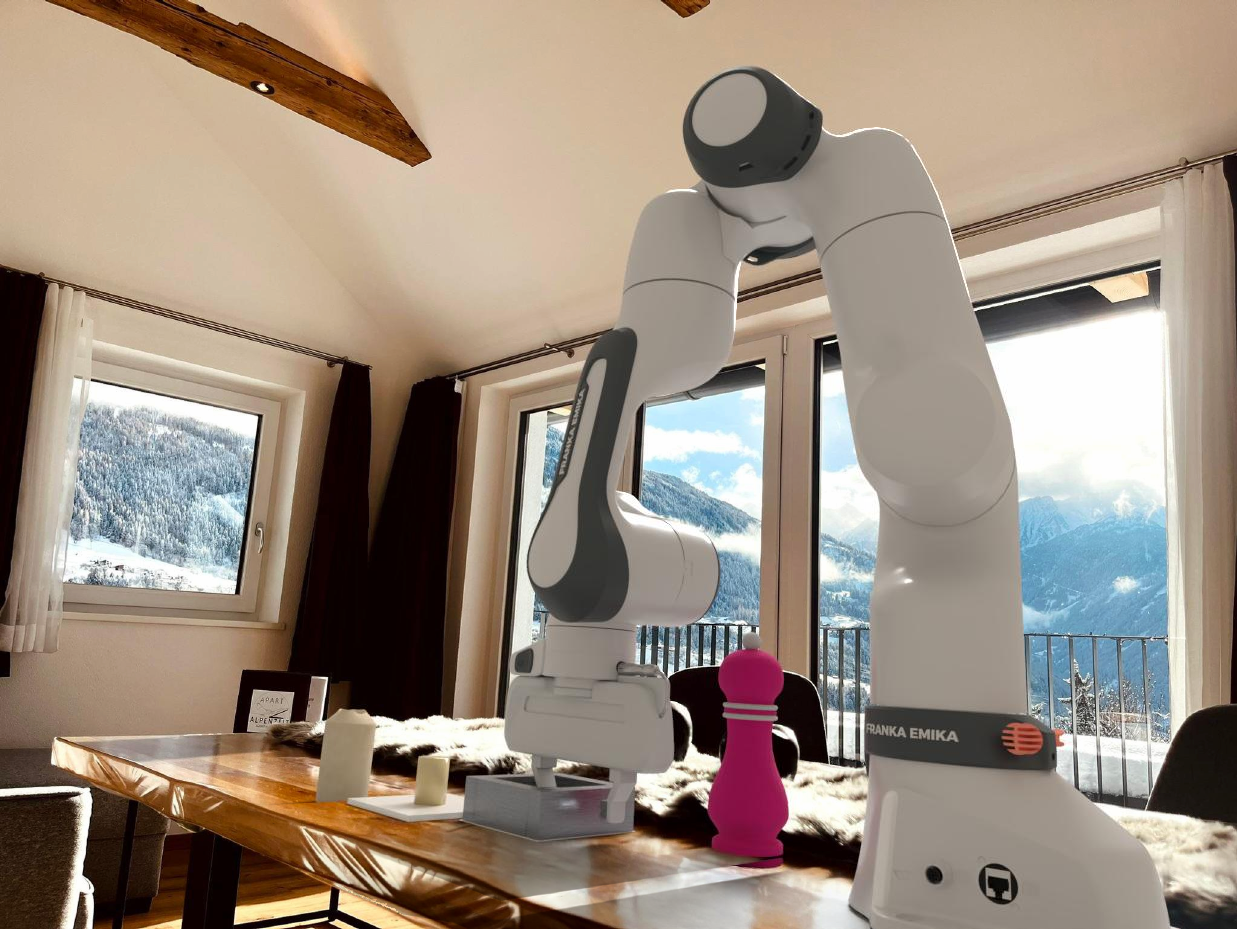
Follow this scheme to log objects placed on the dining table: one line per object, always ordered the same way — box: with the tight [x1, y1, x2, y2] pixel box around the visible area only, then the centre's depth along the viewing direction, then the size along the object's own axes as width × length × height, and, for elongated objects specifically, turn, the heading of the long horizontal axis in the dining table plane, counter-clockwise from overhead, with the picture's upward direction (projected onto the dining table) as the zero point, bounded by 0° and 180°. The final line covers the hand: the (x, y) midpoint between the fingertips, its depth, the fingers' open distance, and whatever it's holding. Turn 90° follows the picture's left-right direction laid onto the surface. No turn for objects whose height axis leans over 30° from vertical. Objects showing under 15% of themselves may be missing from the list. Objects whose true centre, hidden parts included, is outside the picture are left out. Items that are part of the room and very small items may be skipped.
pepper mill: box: [706, 631, 790, 870], centre depth 81 cm, size 7×7×20 cm
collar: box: [461, 772, 636, 841], centre depth 86 cm, size 12×12×4 cm
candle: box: [315, 708, 377, 803], centre depth 99 cm, size 6×6×10 cm
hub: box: [346, 755, 465, 823], centre depth 92 cm, size 12×12×6 cm
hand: (578, 814), depth 82 cm, fingers open, 7 cm apart
